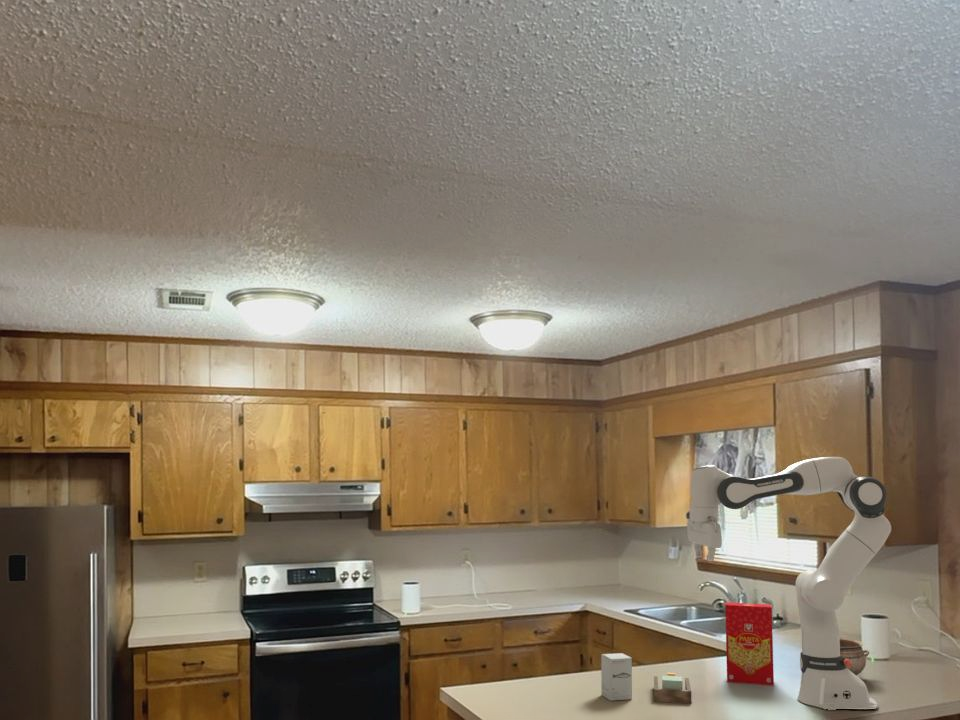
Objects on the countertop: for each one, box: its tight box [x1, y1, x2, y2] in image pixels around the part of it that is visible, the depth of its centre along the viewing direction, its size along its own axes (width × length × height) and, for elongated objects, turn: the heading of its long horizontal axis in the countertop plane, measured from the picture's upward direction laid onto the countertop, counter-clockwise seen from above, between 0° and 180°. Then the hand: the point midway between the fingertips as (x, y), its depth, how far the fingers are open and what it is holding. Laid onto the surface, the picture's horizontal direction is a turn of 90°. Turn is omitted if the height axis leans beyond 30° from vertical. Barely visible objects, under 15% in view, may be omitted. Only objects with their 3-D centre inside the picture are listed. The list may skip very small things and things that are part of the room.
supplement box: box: [600, 652, 633, 702], centre depth 275 cm, size 7×7×13 cm
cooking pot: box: [839, 636, 870, 676], centre depth 299 cm, size 25×19×12 cm
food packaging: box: [725, 601, 775, 687], centre depth 295 cm, size 15×5×25 cm, turn 73°
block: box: [661, 672, 684, 690], centre depth 280 cm, size 6×17×6 cm, turn 169°
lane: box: [653, 676, 692, 704], centre depth 278 cm, size 11×16×4 cm
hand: (704, 559), depth 285 cm, fingers open, 8 cm apart
